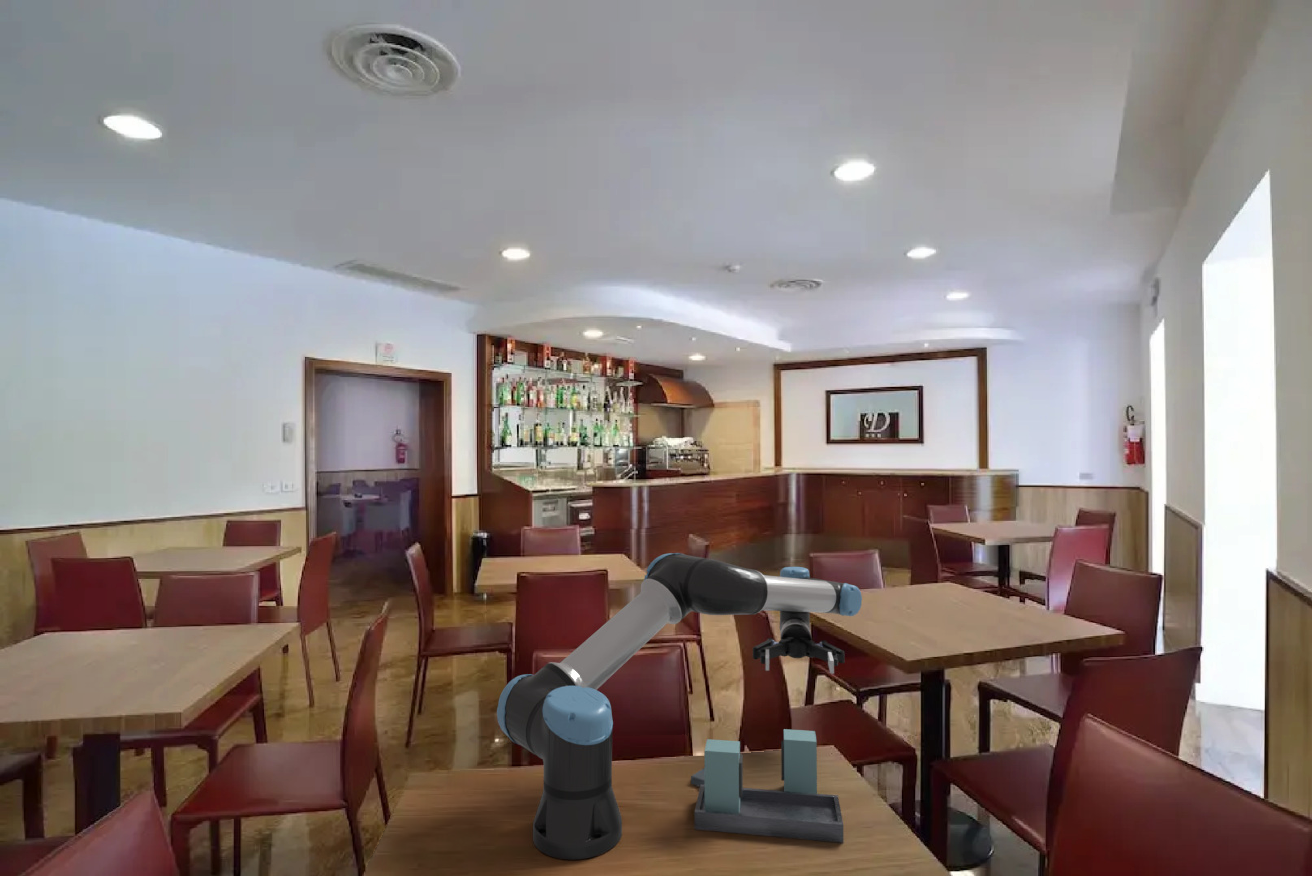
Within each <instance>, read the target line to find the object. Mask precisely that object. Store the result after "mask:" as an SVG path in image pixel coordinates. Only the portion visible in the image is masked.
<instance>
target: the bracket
mask: <svg viewBox="0 0 1312 876" xmlns="http://www.w3.org/2000/svg"><path fill="white" fill-rule="evenodd" d="M690 784H691V785H693V786H696V787H699V788H700V785H701V784H703V785H705V767H704V768H701V769H700V770H698V771H697V772H696V773H694V774H692V775H691V776H690Z"/></svg>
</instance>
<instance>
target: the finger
mask: <svg viewBox="0 0 1312 876" xmlns="http://www.w3.org/2000/svg"><path fill="white" fill-rule="evenodd" d="M817 742H818V741H817V735H816V731H815V730H803V729H791V728H790V729H787V728H786V729H785V728H784V729H783V740H780V744H781V745H780V746H781V747H780V748H781V749H780V750H781V751H780V752H781V756H780V757H781V760H780V761H781V762H780V763H781V766H780V767H781V769H780V770H781V781H783V791H790V792H802V793H815V794H818V771H817V769H818V765H817V763H818V762H817V761H818V758H817V755H818V754H817V753H818V749H817V748H818V747H817Z"/></svg>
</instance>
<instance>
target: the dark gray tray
mask: <svg viewBox="0 0 1312 876" xmlns="http://www.w3.org/2000/svg"><path fill="white" fill-rule="evenodd" d="M839 799H840V798H839V795H838V794H825V793H817V794H815V793H802V792H790V791H784V790H777V789H775V790H774V789H765V788H764V789H763V788H753V787H752V788H751V787H743V791H742V798H740V810H739V813H732V812H720V811H709V810H705V785H703V784H701V785H700V787H699V790H698V795H697V800H696V803H695V804H696V805H695V807H694V830H700V831H710V832H721V833H732V834H741V835H743V834H744V835H751V836H754V835H755V836H764V837H765V836H766V837H773V838H787V839H797V840H798V839H799V840H809V841H819V842H829V843H830V842H832V843H841V844H843V843H844V821H843V820H844V819H843V815H842V810H841V805H840V800H839Z"/></svg>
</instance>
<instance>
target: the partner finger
mask: <svg viewBox="0 0 1312 876" xmlns="http://www.w3.org/2000/svg"><path fill="white" fill-rule="evenodd" d="M703 755H704V761H703V763H704V768H705V810H709V811H720V812H732V813H739V810H740V798H742V791H743V788H744V787H743V785H744V782H743V781H744V780H743V779H744V774H743V772H744V769H743V767H744V766H743V760H744V759H743V753H742V754H741V740H740V741H739V740H738V741H737V740H726V739H725V740H723V739H711V738H710V739H708V738H707V739H706V743H705V747H704V754H703Z"/></svg>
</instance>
